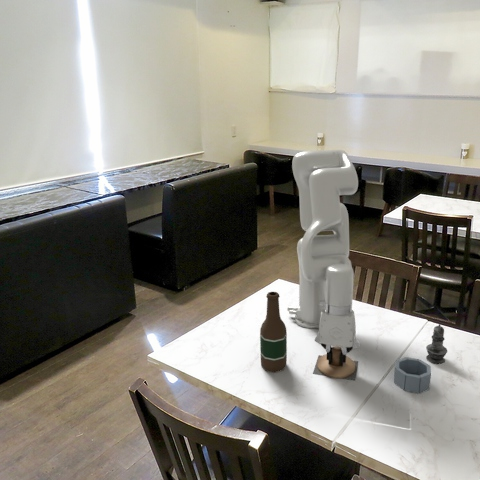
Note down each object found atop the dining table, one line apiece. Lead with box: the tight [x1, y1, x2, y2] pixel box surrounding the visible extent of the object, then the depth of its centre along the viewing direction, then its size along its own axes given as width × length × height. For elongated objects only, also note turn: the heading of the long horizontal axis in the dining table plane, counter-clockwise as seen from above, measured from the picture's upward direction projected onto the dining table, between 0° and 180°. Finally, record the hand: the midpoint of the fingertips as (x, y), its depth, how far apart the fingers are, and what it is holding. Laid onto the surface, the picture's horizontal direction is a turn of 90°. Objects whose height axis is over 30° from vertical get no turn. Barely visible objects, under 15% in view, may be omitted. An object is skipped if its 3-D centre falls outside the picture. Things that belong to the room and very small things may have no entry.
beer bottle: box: [259, 291, 288, 373], centre depth 134 cm, size 8×8×24 cm
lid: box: [316, 346, 355, 379], centre depth 134 cm, size 11×11×6 cm
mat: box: [312, 354, 359, 382], centre depth 135 cm, size 12×10×1 cm
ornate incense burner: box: [425, 323, 448, 365], centre depth 136 cm, size 6×6×12 cm
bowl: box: [393, 356, 432, 395], centre depth 127 cm, size 9×9×5 cm
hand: (336, 362), depth 135 cm, fingers closed on lid, 2 cm apart
